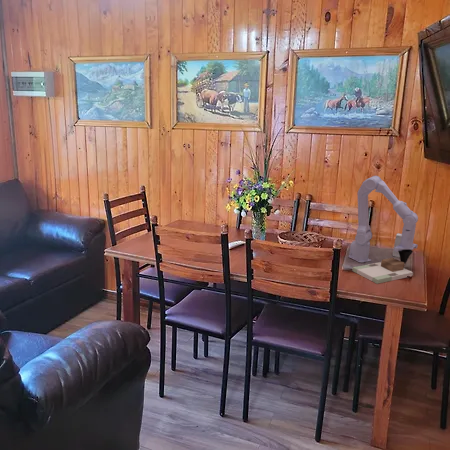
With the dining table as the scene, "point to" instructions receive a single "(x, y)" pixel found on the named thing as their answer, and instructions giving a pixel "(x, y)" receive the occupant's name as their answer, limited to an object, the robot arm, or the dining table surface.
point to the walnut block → (392, 264)
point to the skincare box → (397, 242)
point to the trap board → (380, 273)
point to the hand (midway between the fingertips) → (403, 263)
